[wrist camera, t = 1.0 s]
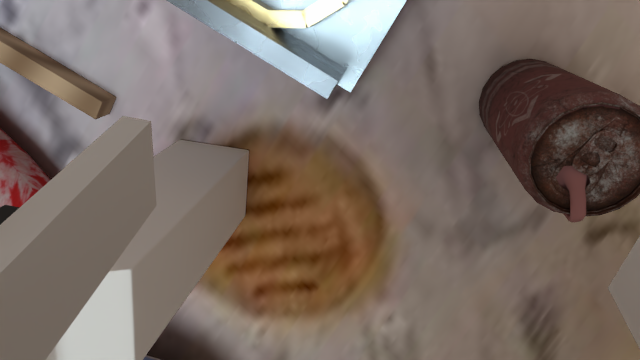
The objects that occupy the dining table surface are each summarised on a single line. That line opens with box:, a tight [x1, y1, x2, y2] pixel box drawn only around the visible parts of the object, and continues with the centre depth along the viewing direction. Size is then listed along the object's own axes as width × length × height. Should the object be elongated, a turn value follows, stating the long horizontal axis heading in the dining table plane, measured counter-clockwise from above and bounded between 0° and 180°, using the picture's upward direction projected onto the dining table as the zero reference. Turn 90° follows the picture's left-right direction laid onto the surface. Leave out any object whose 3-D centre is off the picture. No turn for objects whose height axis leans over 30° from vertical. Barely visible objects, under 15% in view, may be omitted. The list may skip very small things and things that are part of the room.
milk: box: [46, 140, 249, 360], centre depth 31 cm, size 6×6×22 cm
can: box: [479, 59, 640, 222], centre depth 29 cm, size 6×6×14 cm
